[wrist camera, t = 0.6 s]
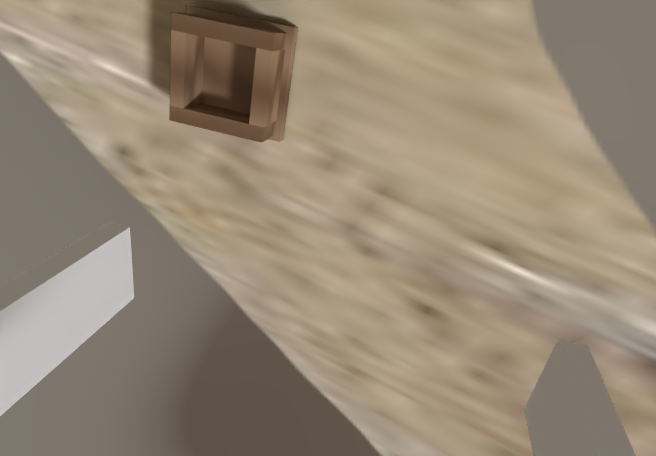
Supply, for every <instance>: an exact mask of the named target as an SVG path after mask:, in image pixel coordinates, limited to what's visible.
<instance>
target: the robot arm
mask: <svg viewBox="0 0 656 456" xmlns="http://www.w3.org/2000/svg"><path fill="white" fill-rule="evenodd" d="M133 298H134V287H133V271H132V256H131V240H130V227H127V226H123V225H119V224H115V223H111V222H107V223H105V224H104V225H102V226H100V227H98V228H97V229H95V230H94V231H92V232H90V233H88V234H87V235H85V236H83V237H82V238H80V239H78V240H77V241H75V242H73V243H72V244H70V245H68V246H66V247H65V248H63V249H61V250H60V251H58V252H56V253H55V254H53V255H51V256H50V257H48V258H46V259H44V260H43V261H41V262H39V263H38V264H36V265H34V266H32V267H31V268H29V269H28V270H26V271H24V272H22V273H21V274H19V275H17V276H16V277H14V278H12V279H10V280H9V281H7V282H6V283H4V284H2V285H0V416H1V415H2V414H3V413H4V412H5V411H6V410H8V408H10V407H11V406H12V405H13V404H14V403H15V402H17V401H18V400H19V399H20V398H21V397H22V396H23V395H25V394H26V393H27V392H28V391H29V390H30V389H31V388H32V387H34V386H35V385H36V384H37V383H38V382H39V381H40V380H41V379H43V378H44V377H45V376H46V375H47V374H48V373H49V372H51V371H52V370H53V369H54V368H55V367H56V366H57V365H58V364H60V363H61V362H62V361H63V360H64V359H65V358H66V357H68V356H69V355H70V354H71V353H72V352H73V351H74V350H76V349H77V348H78V347H79V346H80V345H81V344H82V343H83V342H85V341H86V340H87V339H88V338H89V337H90V336H91V335H92V334H94V333H95V332H96V331H97V330H98V329H99V328H100V327H102V326H103V325H104V324H105V323H106V322H107V321H108V320H109V319H111V318H112V317H113V316H114V315H115V314H116V313H117V312H119V311H120V310H121V309H122V308H123V307H124V306H125V305H126V304H127V303H128V302H130V301H131V300H132V299H133ZM524 410H525V415H526V420H527V425H528V430H529V435H530V440H531V445H532V450H533V455H534V456H636V455H635V453H634V451H633V448H632V446H631V444H630V442H629V439H628V437H627V435H626V432H625V430H624V428H623V425H622V423H621V421H620V418H619V416H618V414H617V412H616V409H615V407H614V405H613V402H612V400H611V398H610V395H609V393H608V391H607V389H606V386H605V384H604V382H603V379H602V377H601V375H600V372H599V370H598V368H597V366H596V363H595V361H594V359H593V356H592V354H591V352H590V349H589V347H588V346H586V345H582V344H578V343H575V342H571V341H567V340H563V339H558V341H557V343H556V345H555V347H554V349H553V351H552V353H551V355H550V357H549V359H548V361H547V363H546V365H545V368H544V370H543V372H542V374H541V376H540V378H539V380H538V382H537V384H536V386H535V388H534V390H533V392H532V394H531V396H530V398H529V400H528V402H527V405H526V407H525V409H524Z"/></svg>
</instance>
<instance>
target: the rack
mask: <svg viewBox="0 0 656 456" xmlns="http://www.w3.org/2000/svg"><path fill="white" fill-rule="evenodd" d="M297 31H298V27H293V26H288V25H283V24H278V23H273V22H268V21H263V20H258V19H253V18H248V17H243V16H238V15H233V14H228V13H223V12H218V11H213V10H208V9H203V8H198V7H193V6H186V13H174V12H171V60H170V118H169V120H171V121H175V122H179V123H183V124H187V125H192V126H196V127H200V128H204V129H208V130H212V131H216V132H221V133H225V134H229V135H233V136H237V137H241V138H245V139H250V140H254V141H258V142H263V141H265V140H267V139H270V140H275V141H279V142H280V141H281V140H283V138H284V130H285V122H286V115H287V107H288V100H289V92H290V84H291V77H292V69H293V62H294V54H295V46H296V39H297Z"/></svg>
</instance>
